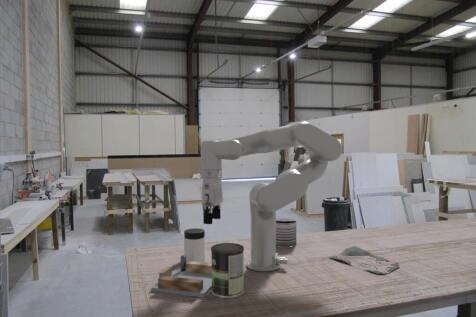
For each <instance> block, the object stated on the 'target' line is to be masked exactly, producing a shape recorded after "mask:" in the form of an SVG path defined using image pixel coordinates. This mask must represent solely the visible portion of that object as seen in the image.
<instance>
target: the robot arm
mask: <svg viewBox="0 0 476 317" xmlns="http://www.w3.org/2000/svg"><path fill="white" fill-rule="evenodd" d="M298 146H303V147H304V148H306V149H307V150H309V154H308V157H307V158H306V159H305V160H304V161H302V162H301V163H298V164H297V165H295V166H293V167H291V168H288V169H287V170H284V171H283V172H281V173H279V174H278V175H277V177H276V179H275V181H273V182H271V183H267V182H258V183H256V184H254V185H253V186H252V188H251V189H250V192H249V197H248V198H249V209H250V210H249V211H250V260H248V261H247V262H246V267H247V268H248V269H250V270H252V271H256V272H273V271H277V270H278V269H280V267H281V264H282V265H288V263H289V262H288V258H286V257H285V256H284V257H282V256H279V253H278V252H277V247H276V219H277V215H276V211H278V210H281V209H282V208H284V207H287V206H289V205H290V204H292V203H294V202H296V201H297V200H300V199H301V198H302V197H303V196H305V194H306V193H307V192H308V189H309V185H311V184H312V183H314V182H315V181H317V180H319V179H320V178H321V177H322V176H323V175H324V174H325V171H326V170H327V166H328V162H333V161H336V160H338V159H339V158H340V157H341V156H342V154H343V146H342V143H341V142H340V140H338V139H337V138H336V137H334V136H332V135H331V134H329V133H328V132H325V131H324V130H322V129H321V128H319V127H317V126H316V125H314V124H312V123H310V122H308V121H300V122H296V123H290V124H287V125H282V126H277V127H273V128H270V129H265V130H261V131H259V132H256V133H252V134H249V135H245V136H241V137H235V138H231V139H227V140H203V141H201V142H200V172H201V173H200V174H201V176H200V178H201V180H202V185H201V186H202V188H201V192H202V193H201V205H202V213H203V214H202V216H203V219H202V220H203V221H202V222H203V224H204V225H213V220H220V219H221V218H222V217H221V204H222V203H223V200H224V199H223V184H222V183H223V182H222V178H223V176H222V175H223V174H222V173H223V170H222V169H223V168H222V167H223V166H222V161H223V160H228V161H236V160H239V159H240V158H241V157H246V156H250V155H256V154H269V153H274V152H277V151H278V152H279V151H282V150H285V149H291V148H294V147H295V148H296V147H298Z"/></svg>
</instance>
